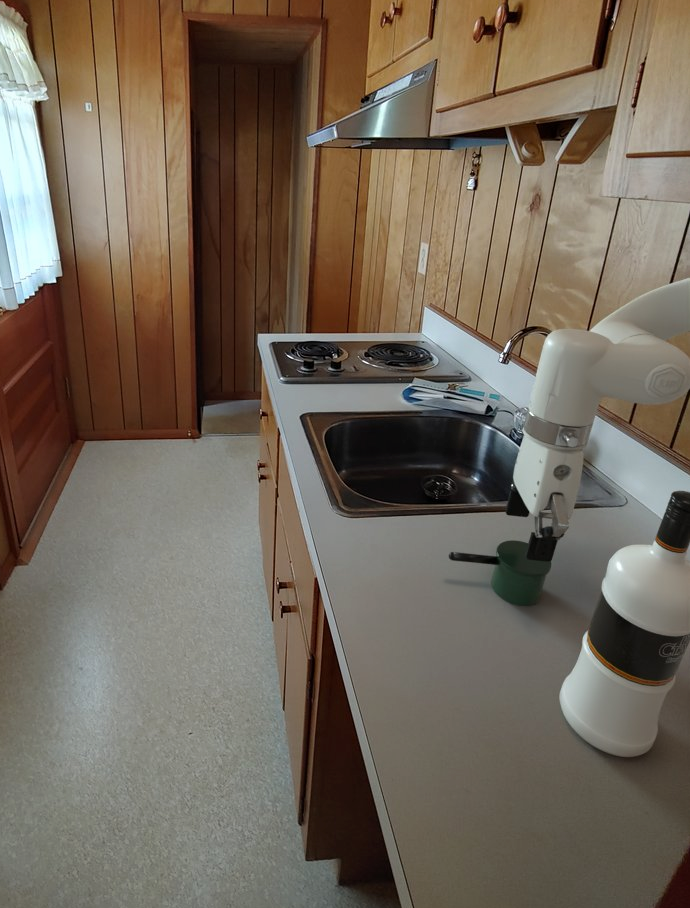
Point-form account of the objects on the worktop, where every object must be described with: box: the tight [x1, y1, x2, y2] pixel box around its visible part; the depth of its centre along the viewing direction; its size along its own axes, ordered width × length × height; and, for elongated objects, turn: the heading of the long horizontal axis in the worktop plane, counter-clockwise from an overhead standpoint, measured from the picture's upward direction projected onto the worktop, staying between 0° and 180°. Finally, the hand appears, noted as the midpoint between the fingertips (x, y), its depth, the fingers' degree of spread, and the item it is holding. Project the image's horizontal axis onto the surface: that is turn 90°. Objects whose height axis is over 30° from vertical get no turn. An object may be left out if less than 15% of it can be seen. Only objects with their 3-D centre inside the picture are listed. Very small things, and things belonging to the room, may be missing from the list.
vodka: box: [558, 490, 690, 758], centre depth 56 cm, size 9×9×30 cm
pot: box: [448, 539, 552, 607], centre depth 80 cm, size 14×7×6 cm, turn 83°
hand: (526, 535), depth 77 cm, fingers open, 9 cm apart
